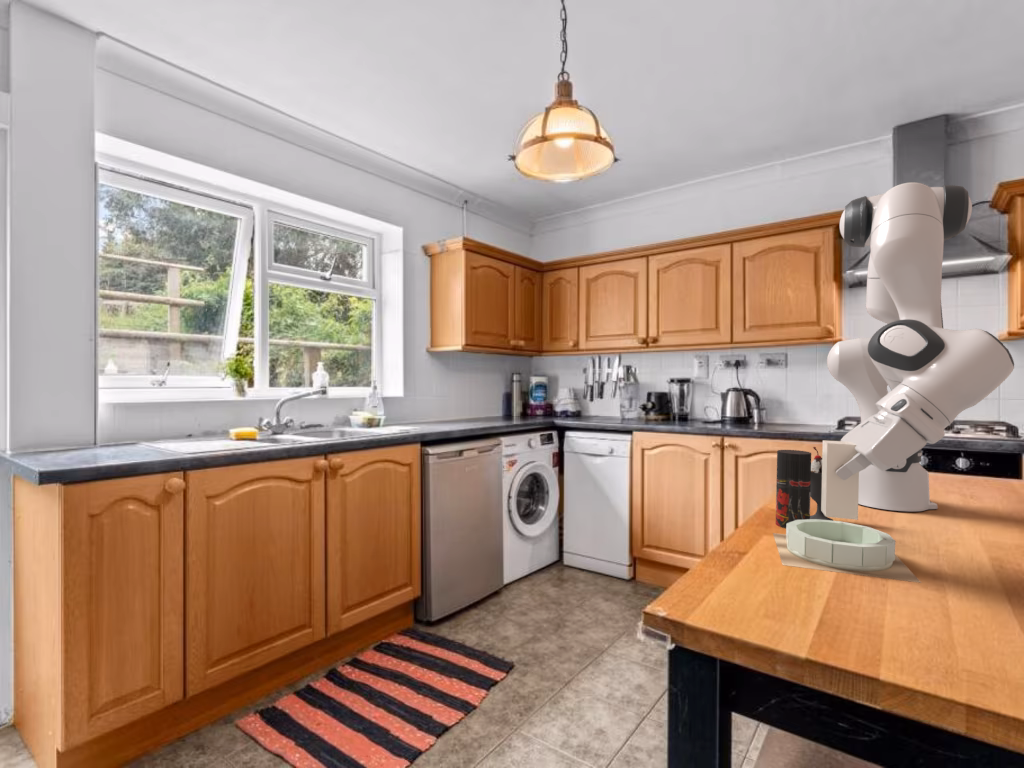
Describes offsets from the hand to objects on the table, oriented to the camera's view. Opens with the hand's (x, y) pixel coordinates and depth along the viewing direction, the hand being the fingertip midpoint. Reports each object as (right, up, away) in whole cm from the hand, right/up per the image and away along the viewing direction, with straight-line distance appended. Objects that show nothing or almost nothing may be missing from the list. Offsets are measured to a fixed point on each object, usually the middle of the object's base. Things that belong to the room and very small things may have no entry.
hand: (835, 473), depth 89 cm
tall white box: (0, -7, 0) cm, 7 cm away
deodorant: (+2, -14, +17) cm, 22 cm away
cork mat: (0, -14, 0) cm, 14 cm away
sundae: (+11, -14, +23) cm, 29 cm away
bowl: (0, -14, 0) cm, 14 cm away
